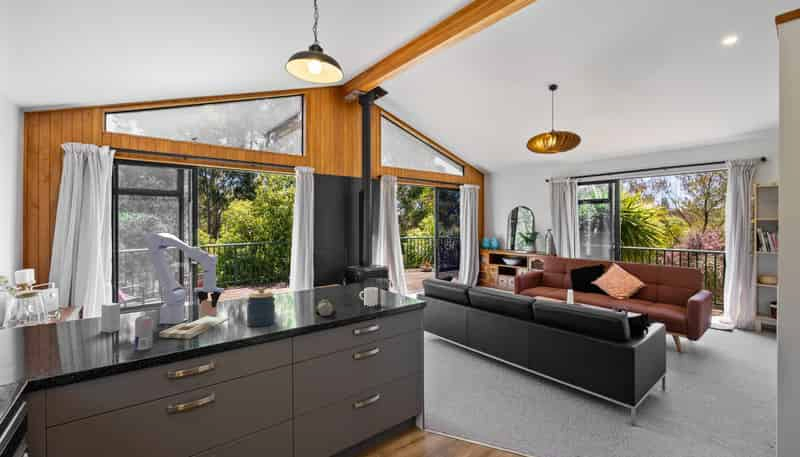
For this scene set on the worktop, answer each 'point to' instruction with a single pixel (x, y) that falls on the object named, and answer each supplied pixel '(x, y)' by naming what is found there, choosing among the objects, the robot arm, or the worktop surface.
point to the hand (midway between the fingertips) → (209, 307)
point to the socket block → (185, 330)
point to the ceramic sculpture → (324, 307)
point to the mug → (370, 296)
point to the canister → (260, 308)
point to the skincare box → (110, 317)
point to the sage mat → (211, 320)
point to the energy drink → (143, 333)
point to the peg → (207, 308)
